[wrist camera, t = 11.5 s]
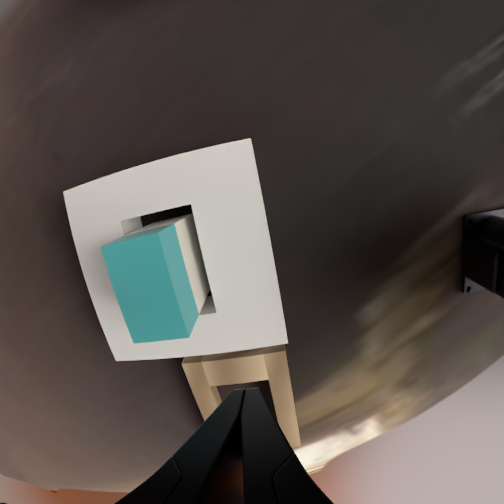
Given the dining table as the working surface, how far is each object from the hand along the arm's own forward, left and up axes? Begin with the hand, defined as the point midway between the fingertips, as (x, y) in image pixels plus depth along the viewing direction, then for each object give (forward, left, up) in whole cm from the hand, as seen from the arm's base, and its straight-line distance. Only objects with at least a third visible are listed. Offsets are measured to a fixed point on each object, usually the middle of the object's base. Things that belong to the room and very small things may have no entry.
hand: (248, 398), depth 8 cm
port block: (+5, -3, -12) cm, 13 cm away
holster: (+3, +10, -12) cm, 16 cm away
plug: (+5, -3, -12) cm, 13 cm away
